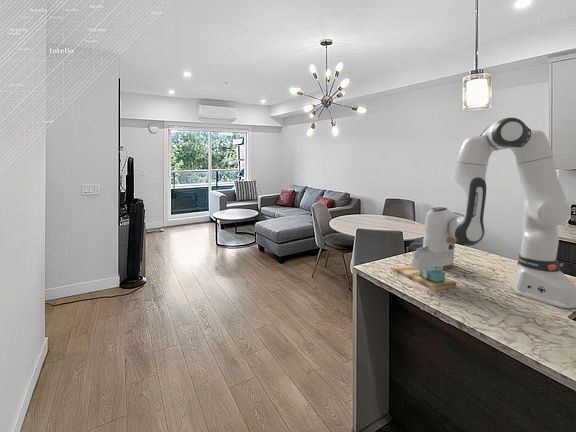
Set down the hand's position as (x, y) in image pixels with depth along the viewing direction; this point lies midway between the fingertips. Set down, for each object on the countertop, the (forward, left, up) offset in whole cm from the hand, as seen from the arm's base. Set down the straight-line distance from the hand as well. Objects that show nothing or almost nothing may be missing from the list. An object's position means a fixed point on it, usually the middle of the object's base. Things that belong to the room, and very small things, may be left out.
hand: (431, 276), depth 134 cm
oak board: (+5, 0, -2) cm, 6 cm away
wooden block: (+16, -22, -3) cm, 27 cm away
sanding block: (0, 0, -1) cm, 1 cm away
